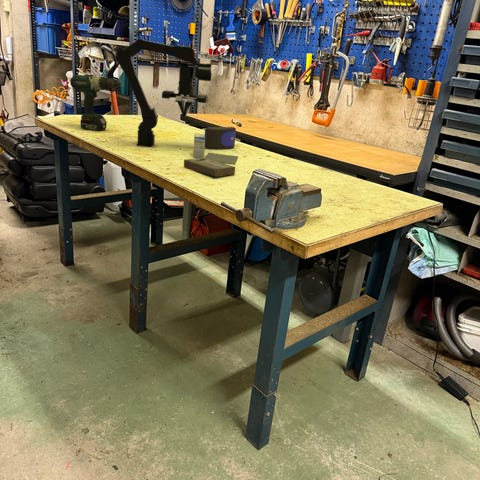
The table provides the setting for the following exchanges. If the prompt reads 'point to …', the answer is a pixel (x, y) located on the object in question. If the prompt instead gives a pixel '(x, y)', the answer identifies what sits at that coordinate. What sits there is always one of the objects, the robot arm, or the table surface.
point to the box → (209, 167)
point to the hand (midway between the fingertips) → (184, 117)
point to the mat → (222, 158)
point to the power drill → (92, 98)
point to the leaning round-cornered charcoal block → (220, 137)
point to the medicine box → (199, 145)
